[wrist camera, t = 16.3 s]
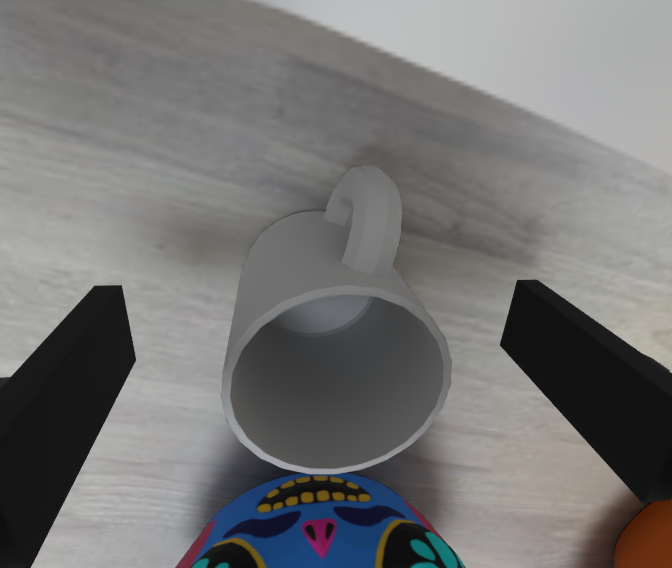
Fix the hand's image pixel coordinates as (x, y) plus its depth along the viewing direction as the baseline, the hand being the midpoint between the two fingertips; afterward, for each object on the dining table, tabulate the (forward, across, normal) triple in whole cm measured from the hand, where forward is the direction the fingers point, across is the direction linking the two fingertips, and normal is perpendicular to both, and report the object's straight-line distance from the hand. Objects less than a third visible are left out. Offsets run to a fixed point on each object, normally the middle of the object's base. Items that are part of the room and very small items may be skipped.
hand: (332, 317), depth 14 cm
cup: (+7, 0, 0) cm, 7 cm away
